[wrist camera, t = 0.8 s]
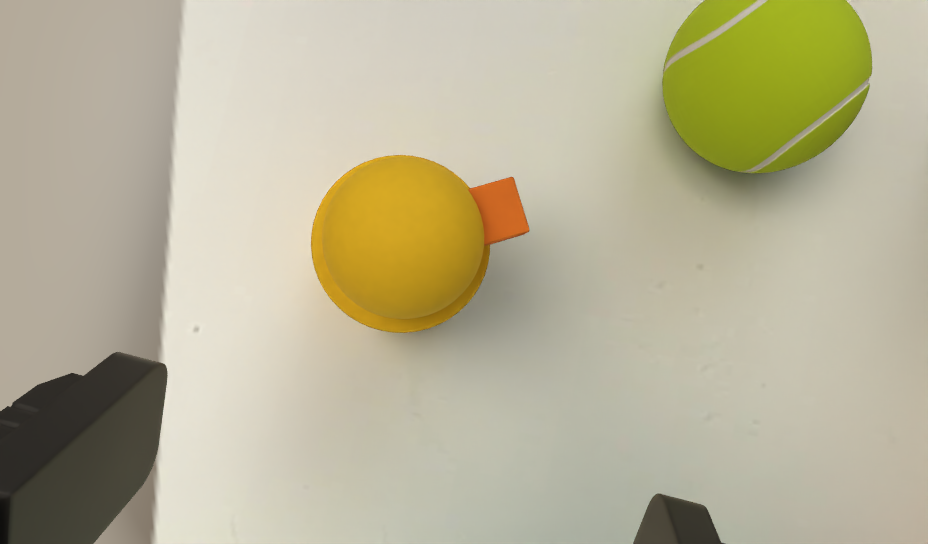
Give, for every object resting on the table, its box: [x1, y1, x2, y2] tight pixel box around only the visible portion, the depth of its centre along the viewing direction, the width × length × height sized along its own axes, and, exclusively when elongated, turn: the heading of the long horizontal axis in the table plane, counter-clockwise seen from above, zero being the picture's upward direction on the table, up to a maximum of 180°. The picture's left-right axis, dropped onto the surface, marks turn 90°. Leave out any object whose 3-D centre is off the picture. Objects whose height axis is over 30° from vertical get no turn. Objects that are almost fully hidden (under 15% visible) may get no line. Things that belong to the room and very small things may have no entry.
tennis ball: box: [662, 0, 872, 173], centre depth 26 cm, size 7×7×7 cm
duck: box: [311, 155, 529, 333], centre depth 23 cm, size 6×5×10 cm
